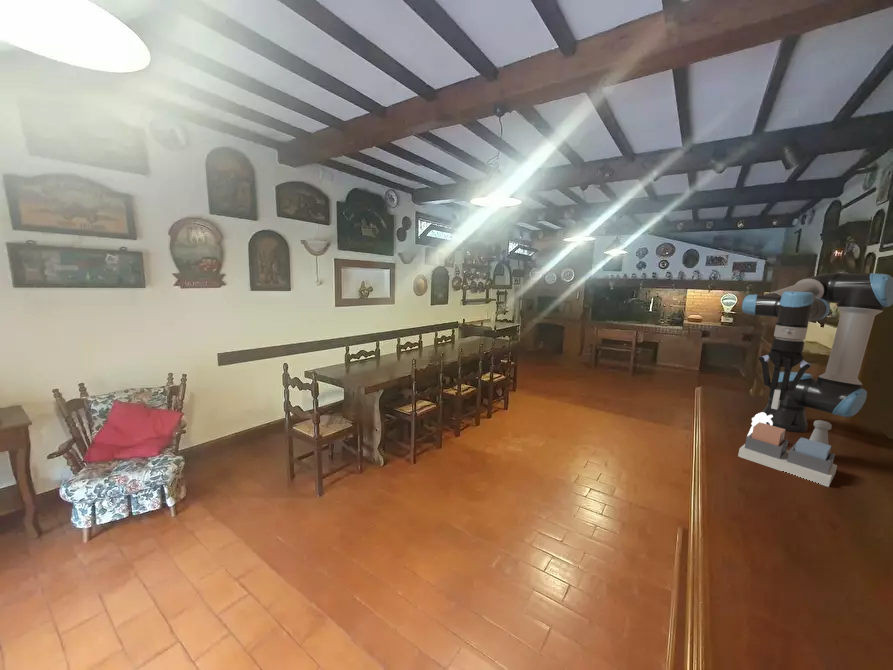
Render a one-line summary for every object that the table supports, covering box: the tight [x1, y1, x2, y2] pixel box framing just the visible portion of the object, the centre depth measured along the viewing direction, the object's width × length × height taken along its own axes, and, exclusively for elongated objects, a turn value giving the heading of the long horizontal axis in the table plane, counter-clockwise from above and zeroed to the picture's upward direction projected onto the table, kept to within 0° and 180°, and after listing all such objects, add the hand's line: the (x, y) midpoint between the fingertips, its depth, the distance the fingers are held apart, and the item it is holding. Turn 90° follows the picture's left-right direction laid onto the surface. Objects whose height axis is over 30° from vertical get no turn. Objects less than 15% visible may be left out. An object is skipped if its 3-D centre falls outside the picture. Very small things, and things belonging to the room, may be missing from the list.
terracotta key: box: [751, 422, 787, 446], centre depth 124 cm, size 7×7×5 cm
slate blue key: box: [795, 436, 832, 461], centre depth 116 cm, size 7×7×5 cm
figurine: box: [746, 411, 773, 437], centre depth 136 cm, size 7×7×12 cm
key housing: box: [737, 433, 838, 488], centre depth 121 cm, size 13×22×7 cm, turn 37°
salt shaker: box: [809, 419, 833, 445], centre depth 127 cm, size 6×6×13 cm
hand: (774, 408), depth 122 cm, fingers closed
